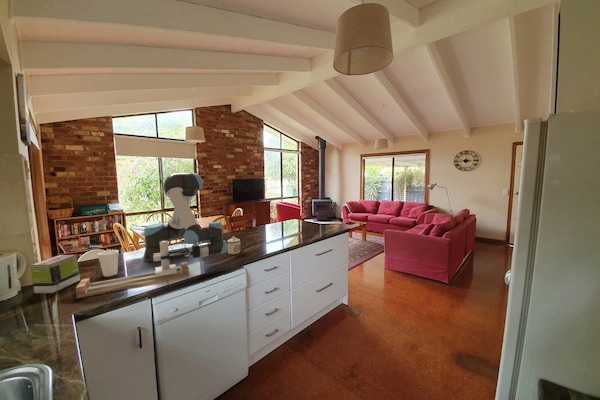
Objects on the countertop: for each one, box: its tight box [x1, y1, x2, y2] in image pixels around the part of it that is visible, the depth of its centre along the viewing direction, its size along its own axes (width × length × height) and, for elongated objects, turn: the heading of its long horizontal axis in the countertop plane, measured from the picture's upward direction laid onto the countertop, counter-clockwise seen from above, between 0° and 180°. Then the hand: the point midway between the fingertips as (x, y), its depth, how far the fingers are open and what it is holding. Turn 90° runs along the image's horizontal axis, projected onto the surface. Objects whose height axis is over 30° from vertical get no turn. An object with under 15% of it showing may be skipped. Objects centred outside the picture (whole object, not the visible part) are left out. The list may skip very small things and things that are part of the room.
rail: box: [75, 261, 190, 299], centre depth 134 cm, size 12×48×5 cm, turn 119°
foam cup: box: [97, 249, 120, 278], centre depth 145 cm, size 10×9×13 cm
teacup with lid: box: [226, 236, 241, 255], centre depth 183 cm, size 12×9×12 cm
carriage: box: [154, 241, 177, 277], centre depth 139 cm, size 10×10×17 cm
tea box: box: [29, 254, 81, 294], centre depth 130 cm, size 15×10×15 cm, turn 178°
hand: (153, 257), depth 137 cm, fingers closed on carriage, 4 cm apart
